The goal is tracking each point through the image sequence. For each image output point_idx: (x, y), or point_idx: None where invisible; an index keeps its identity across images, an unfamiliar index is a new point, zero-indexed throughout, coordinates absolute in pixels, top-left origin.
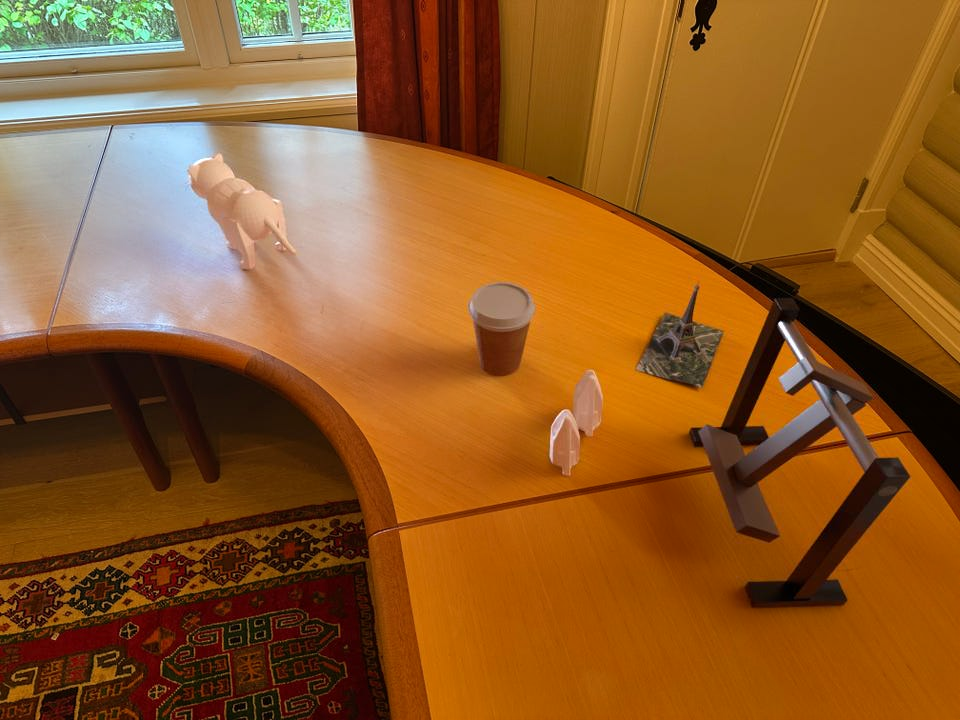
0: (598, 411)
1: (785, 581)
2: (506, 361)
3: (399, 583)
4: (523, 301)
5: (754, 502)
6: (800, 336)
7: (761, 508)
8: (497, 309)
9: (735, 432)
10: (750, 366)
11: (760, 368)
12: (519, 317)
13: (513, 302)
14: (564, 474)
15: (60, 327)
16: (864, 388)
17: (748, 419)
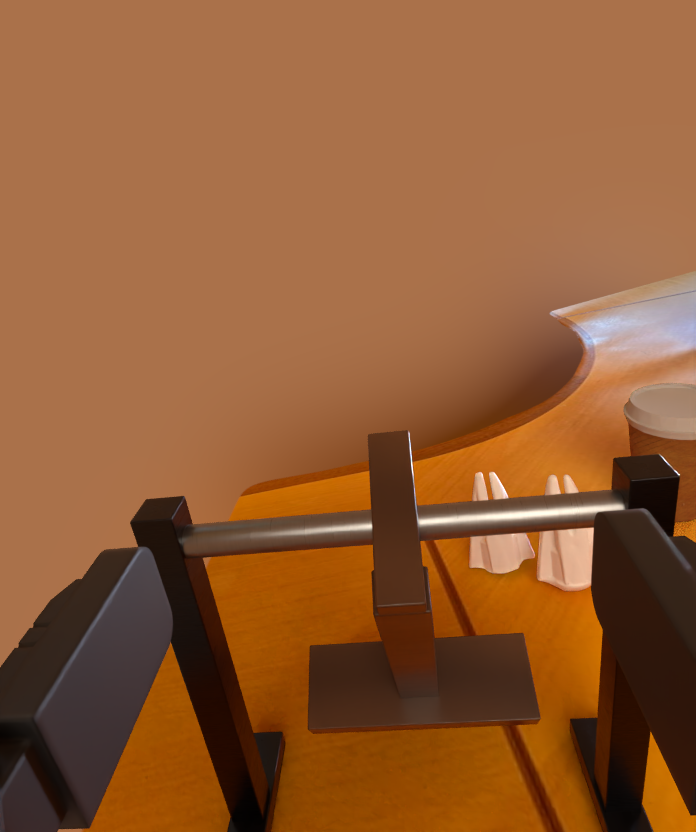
0: (559, 555)
1: (270, 790)
2: None
3: (341, 472)
4: (694, 415)
5: (365, 689)
6: (550, 502)
7: (357, 704)
8: (656, 401)
9: (600, 779)
10: None
11: None
12: (648, 414)
13: (685, 409)
14: (469, 561)
15: (566, 319)
16: (398, 586)
17: (607, 764)
